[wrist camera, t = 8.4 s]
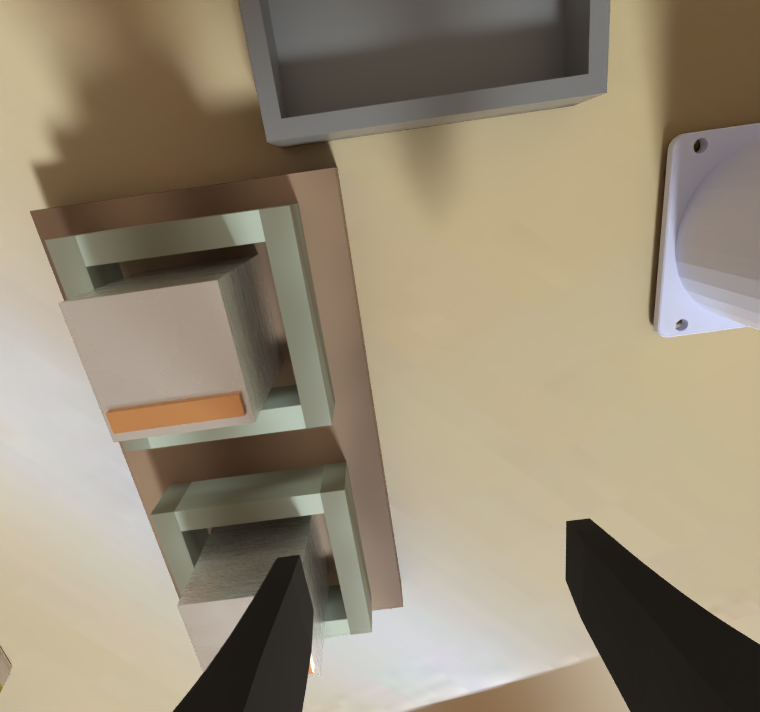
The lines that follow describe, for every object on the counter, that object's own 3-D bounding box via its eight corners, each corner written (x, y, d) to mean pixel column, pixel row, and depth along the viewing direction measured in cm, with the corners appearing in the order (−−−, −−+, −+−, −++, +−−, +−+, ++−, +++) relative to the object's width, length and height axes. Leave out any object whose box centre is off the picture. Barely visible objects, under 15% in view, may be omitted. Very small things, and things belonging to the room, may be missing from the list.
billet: (313, 500, 21) (298, 594, 16) (330, 572, 22) (320, 679, 18) (219, 512, 21) (175, 609, 16) (242, 584, 23) (208, 692, 18)
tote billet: (258, 254, 17) (215, 281, 12) (283, 363, 19) (253, 425, 14) (142, 270, 17) (54, 304, 12) (177, 377, 19) (111, 444, 14)
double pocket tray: (337, 168, 17) (330, 165, 14) (401, 582, 25) (406, 643, 22) (56, 208, 18) (-15, 214, 14) (202, 607, 25) (177, 670, 22)
